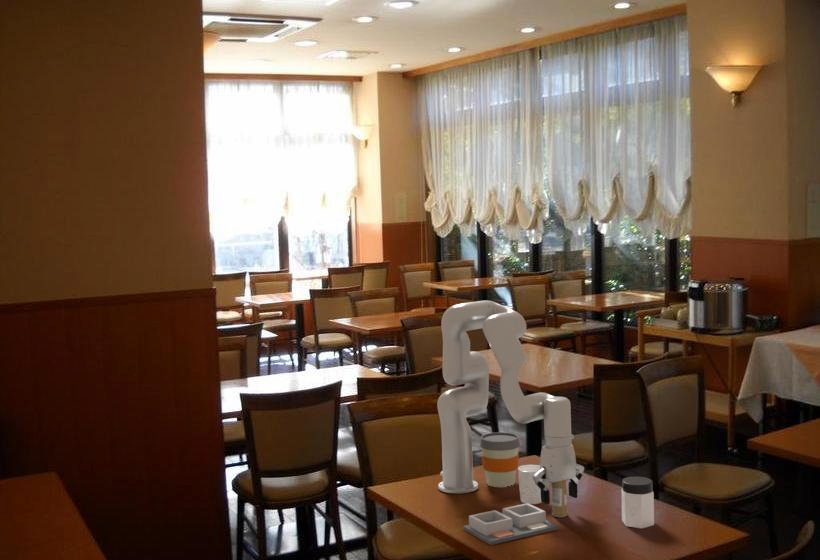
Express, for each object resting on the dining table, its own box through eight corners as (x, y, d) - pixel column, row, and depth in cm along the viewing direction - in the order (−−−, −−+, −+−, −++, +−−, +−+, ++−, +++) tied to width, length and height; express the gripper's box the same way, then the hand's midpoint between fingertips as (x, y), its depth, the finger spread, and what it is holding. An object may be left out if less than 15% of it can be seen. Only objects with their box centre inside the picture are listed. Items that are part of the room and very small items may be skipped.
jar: (617, 525, 257) (616, 482, 256) (626, 516, 264) (625, 474, 263) (650, 530, 253) (649, 486, 252) (657, 520, 260) (657, 478, 259)
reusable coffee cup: (527, 480, 302) (525, 434, 300) (509, 491, 291) (508, 443, 290) (492, 475, 308) (490, 430, 307) (474, 485, 298) (472, 439, 296)
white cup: (544, 496, 285) (543, 464, 284) (545, 505, 277) (545, 471, 276) (518, 496, 285) (517, 464, 284) (518, 505, 277) (518, 472, 277)
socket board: (463, 529, 258) (462, 515, 258) (529, 514, 268) (528, 501, 268) (490, 545, 246) (490, 530, 246) (558, 529, 256) (558, 514, 256)
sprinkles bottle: (570, 515, 267) (570, 469, 266) (558, 519, 264) (557, 472, 263) (559, 511, 270) (558, 465, 269) (548, 514, 268) (546, 468, 267)
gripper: (574, 433, 273) (575, 491, 274) (525, 442, 265) (526, 501, 266) (590, 439, 266) (591, 498, 268) (540, 448, 258) (542, 509, 260)
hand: (559, 499), depth 267 cm, fingers open, 9 cm apart
